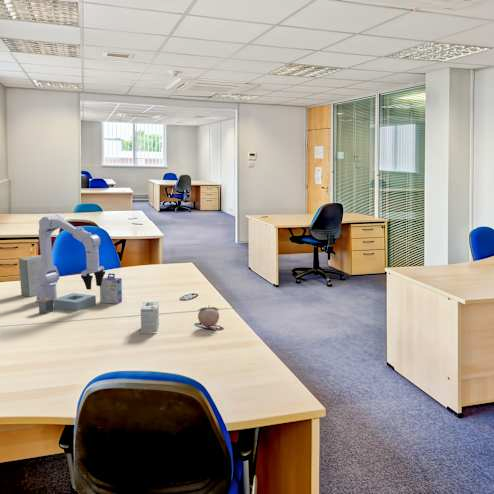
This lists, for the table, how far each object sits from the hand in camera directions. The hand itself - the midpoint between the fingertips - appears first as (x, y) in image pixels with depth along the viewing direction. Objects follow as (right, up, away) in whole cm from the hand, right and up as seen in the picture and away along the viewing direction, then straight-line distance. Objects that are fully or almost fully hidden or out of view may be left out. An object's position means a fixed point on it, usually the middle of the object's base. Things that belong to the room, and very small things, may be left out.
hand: (93, 287), depth 251 cm
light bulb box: (+33, -16, -31) cm, 48 cm away
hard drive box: (-39, -6, +29) cm, 48 cm away
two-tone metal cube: (-20, -11, -6) cm, 24 cm away
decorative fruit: (+58, -15, -28) cm, 66 cm away
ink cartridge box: (+5, -9, +12) cm, 16 cm away
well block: (-11, -9, +5) cm, 15 cm away
